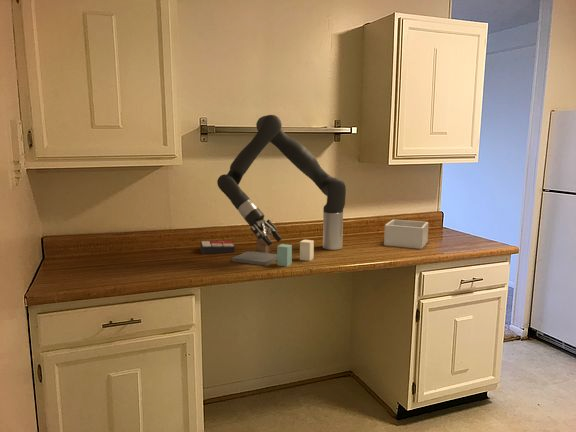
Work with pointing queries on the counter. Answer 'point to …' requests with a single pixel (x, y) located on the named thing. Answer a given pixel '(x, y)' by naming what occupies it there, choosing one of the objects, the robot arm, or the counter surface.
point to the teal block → (284, 255)
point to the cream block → (306, 250)
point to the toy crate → (406, 234)
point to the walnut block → (263, 245)
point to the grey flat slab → (255, 258)
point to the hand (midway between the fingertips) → (275, 242)
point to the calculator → (217, 247)
